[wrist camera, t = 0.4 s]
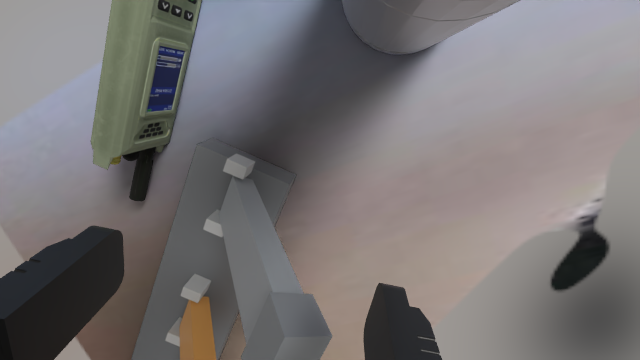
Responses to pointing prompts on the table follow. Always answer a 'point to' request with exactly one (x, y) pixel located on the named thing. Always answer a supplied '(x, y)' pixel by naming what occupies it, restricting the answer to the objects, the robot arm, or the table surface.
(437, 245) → the table surface
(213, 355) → the orange paddle
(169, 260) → the pegged base beam
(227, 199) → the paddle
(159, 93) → the handheld radio
